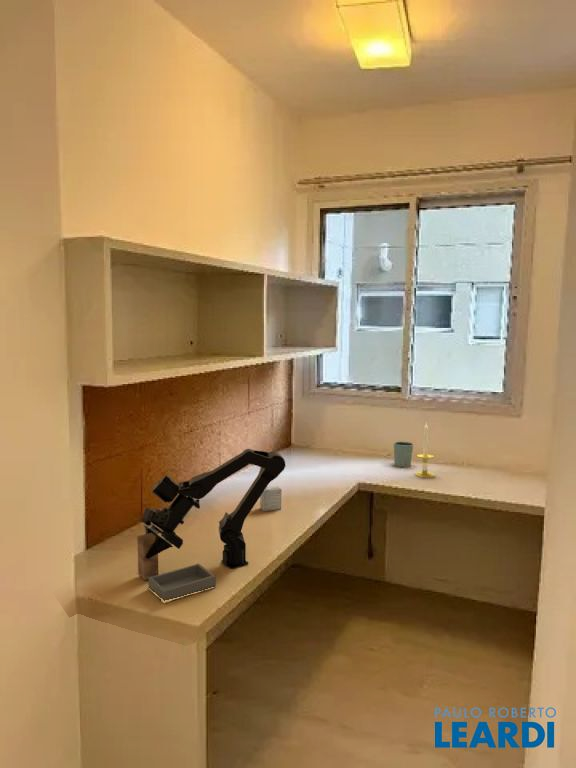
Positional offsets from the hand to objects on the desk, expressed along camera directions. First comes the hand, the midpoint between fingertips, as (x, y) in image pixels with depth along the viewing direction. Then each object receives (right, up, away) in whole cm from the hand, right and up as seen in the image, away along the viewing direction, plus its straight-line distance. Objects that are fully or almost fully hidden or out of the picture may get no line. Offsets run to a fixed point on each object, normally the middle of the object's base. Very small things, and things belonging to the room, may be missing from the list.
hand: (143, 555), depth 168 cm
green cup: (+104, +7, +134) cm, 170 cm away
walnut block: (+1, -7, +2) cm, 7 cm away
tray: (+13, -8, -5) cm, 16 cm away
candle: (+112, +5, +115) cm, 161 cm away
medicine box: (+36, 0, +63) cm, 73 cm away
